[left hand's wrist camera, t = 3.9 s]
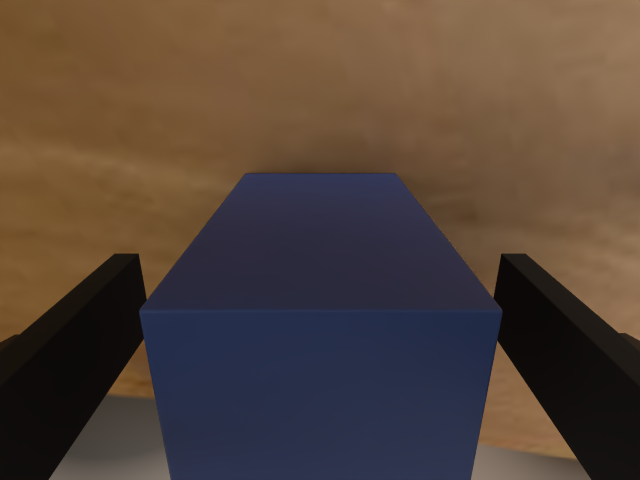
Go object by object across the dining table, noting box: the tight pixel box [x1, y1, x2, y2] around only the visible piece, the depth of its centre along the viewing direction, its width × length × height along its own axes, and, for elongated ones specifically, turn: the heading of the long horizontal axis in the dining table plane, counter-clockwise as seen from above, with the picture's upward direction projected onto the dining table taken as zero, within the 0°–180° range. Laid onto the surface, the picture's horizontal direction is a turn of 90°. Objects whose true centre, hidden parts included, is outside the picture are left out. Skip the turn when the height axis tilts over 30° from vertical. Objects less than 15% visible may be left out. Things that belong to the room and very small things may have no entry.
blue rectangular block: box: [139, 173, 502, 480], centre depth 12 cm, size 6×6×10 cm
